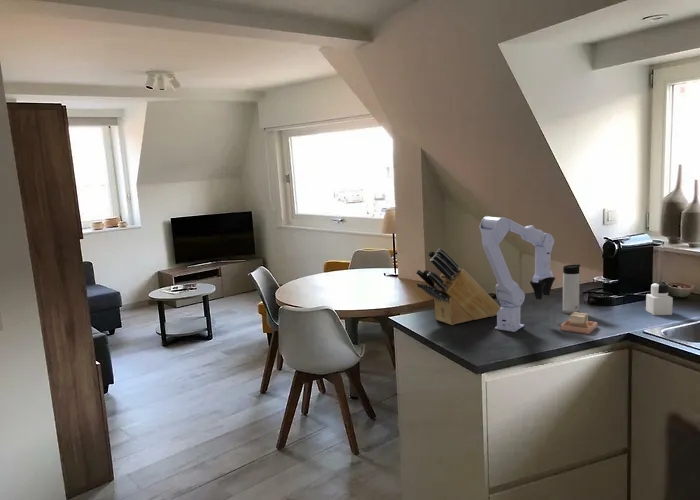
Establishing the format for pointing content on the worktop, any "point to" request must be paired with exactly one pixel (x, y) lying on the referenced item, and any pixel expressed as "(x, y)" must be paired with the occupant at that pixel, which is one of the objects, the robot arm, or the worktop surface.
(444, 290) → the knife block
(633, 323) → the worktop surface
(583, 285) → the worktop surface
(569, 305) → the travel mug
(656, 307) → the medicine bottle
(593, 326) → the terracotta tray
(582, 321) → the beech block
